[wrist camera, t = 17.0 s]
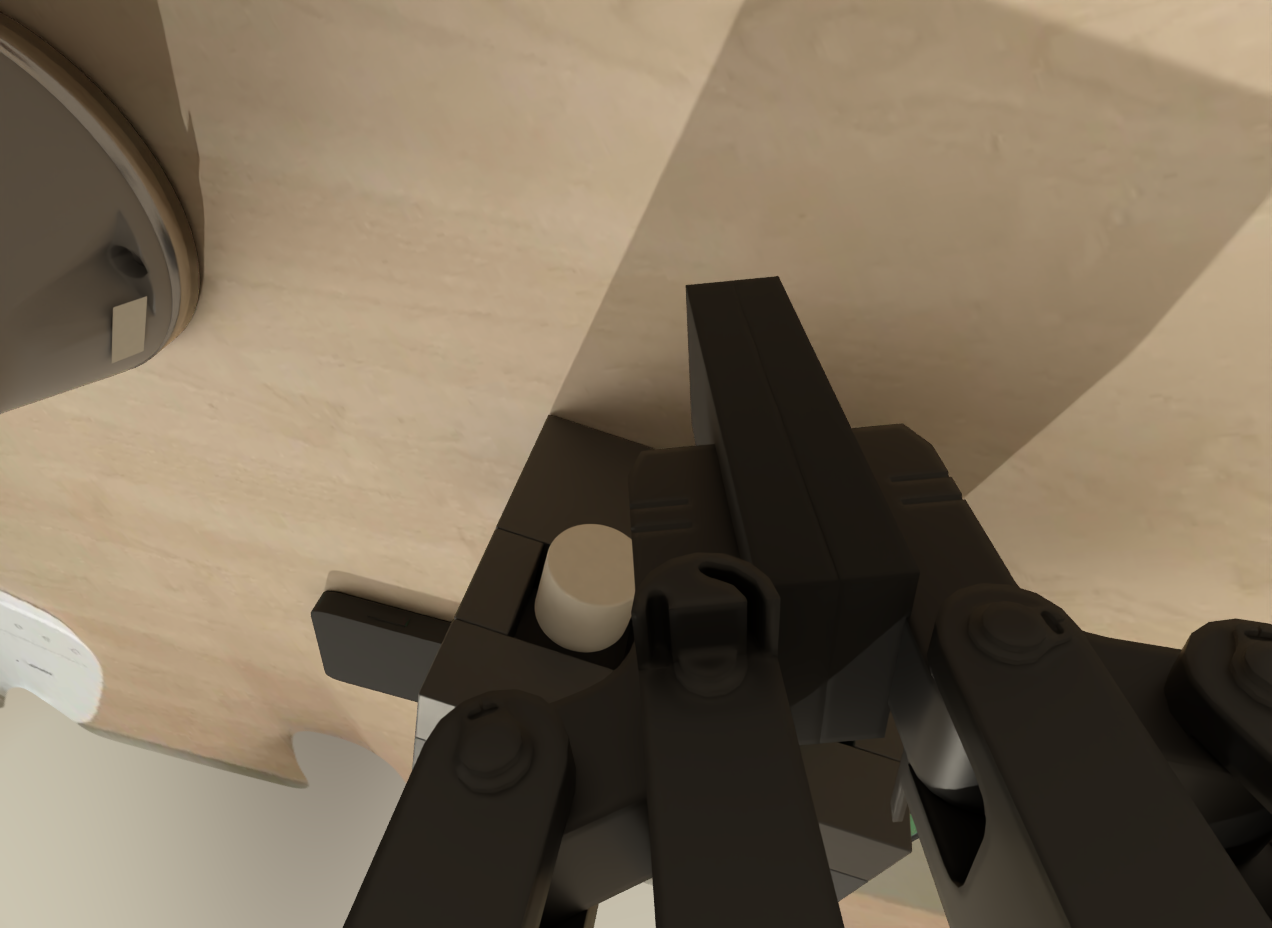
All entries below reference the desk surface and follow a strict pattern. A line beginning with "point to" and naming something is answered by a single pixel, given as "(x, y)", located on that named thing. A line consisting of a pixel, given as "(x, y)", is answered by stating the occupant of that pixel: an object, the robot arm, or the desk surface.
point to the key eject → (586, 588)
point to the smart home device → (376, 644)
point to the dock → (625, 644)
